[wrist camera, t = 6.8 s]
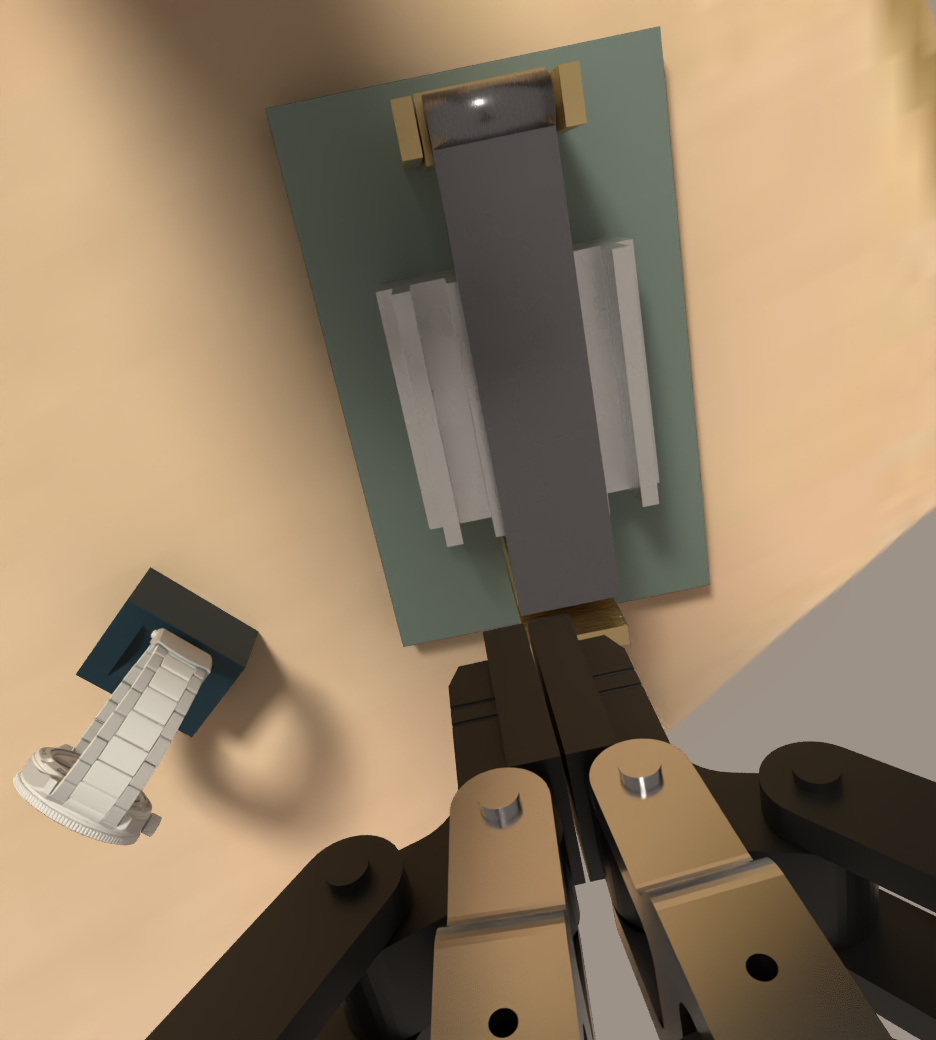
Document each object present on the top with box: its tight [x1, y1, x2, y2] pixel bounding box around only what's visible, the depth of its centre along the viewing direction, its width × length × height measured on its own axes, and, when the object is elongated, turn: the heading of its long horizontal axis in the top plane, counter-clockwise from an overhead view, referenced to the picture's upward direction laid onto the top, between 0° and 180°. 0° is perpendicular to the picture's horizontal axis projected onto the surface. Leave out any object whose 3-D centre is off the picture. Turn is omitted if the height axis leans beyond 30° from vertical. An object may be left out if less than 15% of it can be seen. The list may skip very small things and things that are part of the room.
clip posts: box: [390, 61, 630, 659], centre depth 29 cm, size 19×5×7 cm, turn 11°
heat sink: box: [376, 236, 660, 547], centre depth 30 cm, size 9×9×5 cm
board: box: [265, 26, 710, 647], centre depth 33 cm, size 22×14×2 cm, turn 11°
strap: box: [421, 69, 621, 616], centre depth 26 cm, size 17×4×2 cm, turn 11°
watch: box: [13, 567, 258, 845], centre depth 32 cm, size 6×8×11 cm
